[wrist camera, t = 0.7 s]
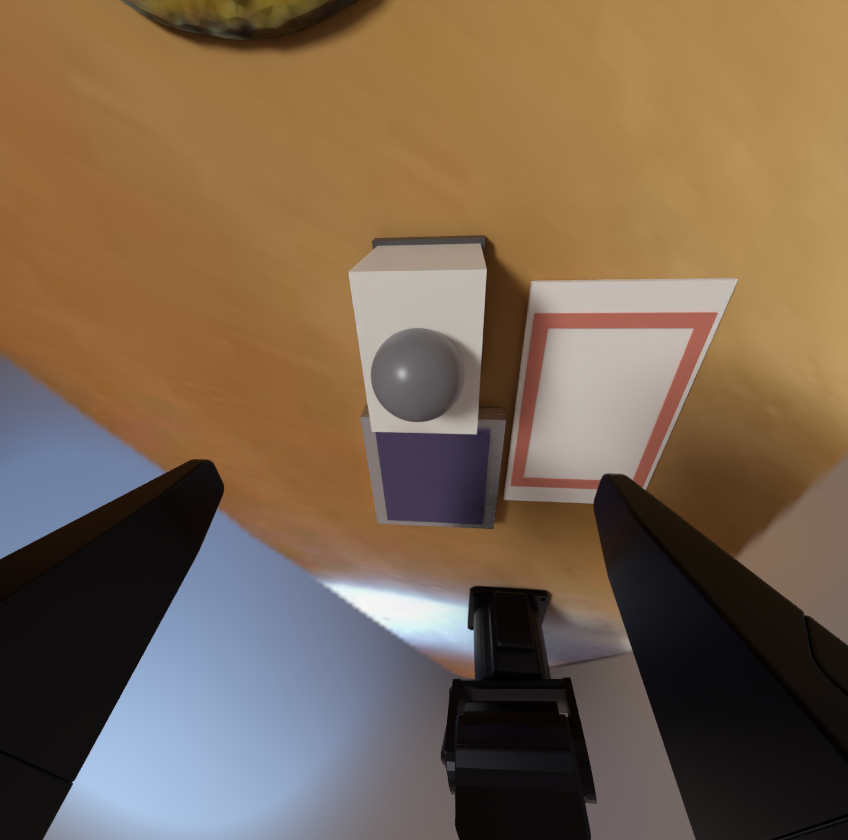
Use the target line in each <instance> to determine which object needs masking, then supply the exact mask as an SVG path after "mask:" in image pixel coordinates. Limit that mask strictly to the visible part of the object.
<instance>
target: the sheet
mask: <svg viewBox="0 0 848 840" xmlns="http://www.w3.org/2000/svg"><path fill="white" fill-rule="evenodd" d="M737 281H738V279H736V278H686V279H616V280H546V281H531V285H530V293H529V301H528V309H527V317H526V324H525V332H524V340H523V348H522V356H521V364H520V371H519V379H518V387H517V395H516V403H515V411H514V418H513V426H512V434H511V442H510V450H509V457H508V465H507V473H506V481H505V489H504V500H518V501H542V502H567V503H592V504H594V498H595V495H596V492H597V489H598V486H599V483H600V480H601V477H602V476H603V475H604V474H606V473H615V474H624V475H626V476H628V477H629V478H630V479H632V480H633V481H634V482H636V483H637V484H638V485H640V486H641V487H642V488H643V489H645V490H646V488H647V486H648V484H649V481H650V479H651V477H652V475H653V472H654V470H655V468H656V466H657V463H658V461H659V459H660V456H661V454H662V452H663V450H664V447H665V445H666V443H667V441H668V438H669V436H670V434H671V431H672V429H673V427H674V425H675V422H676V420H677V418H678V415H679V413H680V411H681V409H682V406H683V404H684V402H685V400H686V397H687V395H688V393H689V390H690V388H691V386H692V384H693V381H694V379H695V377H696V375H697V372H698V370H699V368H700V365H701V363H702V361H703V359H704V356H705V354H706V352H707V349H708V347H709V345H710V343H711V340H712V338H713V336H714V334H715V331H716V329H717V327H718V324H719V322H720V320H721V318H722V315H723V313H724V311H725V309H726V306H727V304H728V302H729V299H730V297H731V295H732V293H733V290H734V288H735V286H736V283H737Z"/></svg>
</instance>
